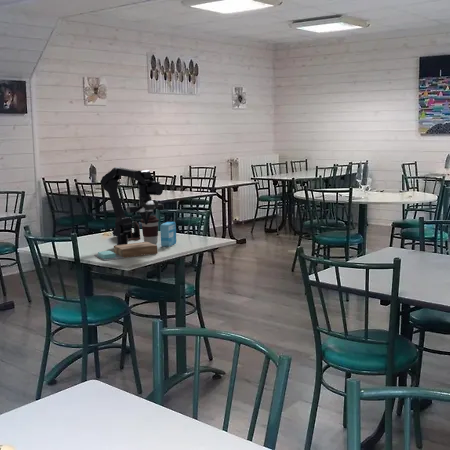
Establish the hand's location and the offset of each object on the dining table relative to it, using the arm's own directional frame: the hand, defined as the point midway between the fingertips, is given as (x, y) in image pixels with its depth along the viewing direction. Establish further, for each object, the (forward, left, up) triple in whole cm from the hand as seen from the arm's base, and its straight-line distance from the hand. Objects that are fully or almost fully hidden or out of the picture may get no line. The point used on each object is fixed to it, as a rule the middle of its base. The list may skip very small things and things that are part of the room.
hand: (146, 224), depth 313 cm
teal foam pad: (+8, -24, -11) cm, 28 cm away
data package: (-4, +14, -13) cm, 20 cm away
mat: (+7, -23, -13) cm, 27 cm away
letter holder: (-42, +5, -13) cm, 44 cm away
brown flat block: (+7, -9, -13) cm, 17 cm away
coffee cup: (-15, +8, -13) cm, 22 cm away
